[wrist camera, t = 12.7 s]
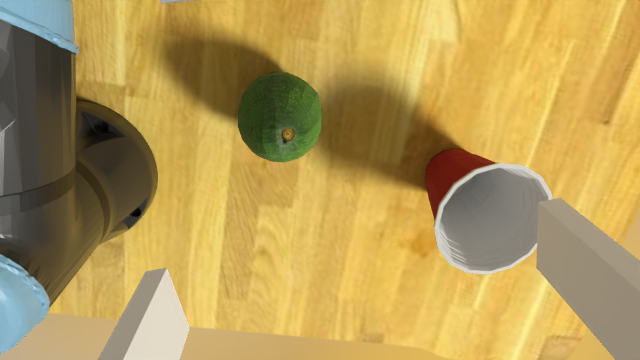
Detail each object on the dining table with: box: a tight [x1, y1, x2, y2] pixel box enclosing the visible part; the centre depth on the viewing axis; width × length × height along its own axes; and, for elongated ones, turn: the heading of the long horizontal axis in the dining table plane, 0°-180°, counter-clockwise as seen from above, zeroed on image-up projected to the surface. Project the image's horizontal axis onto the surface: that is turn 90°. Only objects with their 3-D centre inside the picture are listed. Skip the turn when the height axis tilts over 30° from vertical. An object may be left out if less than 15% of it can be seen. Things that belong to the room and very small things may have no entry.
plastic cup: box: [425, 149, 552, 274], centre depth 44 cm, size 11×11×12 cm
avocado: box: [238, 72, 322, 162], centre depth 40 cm, size 8×8×12 cm
